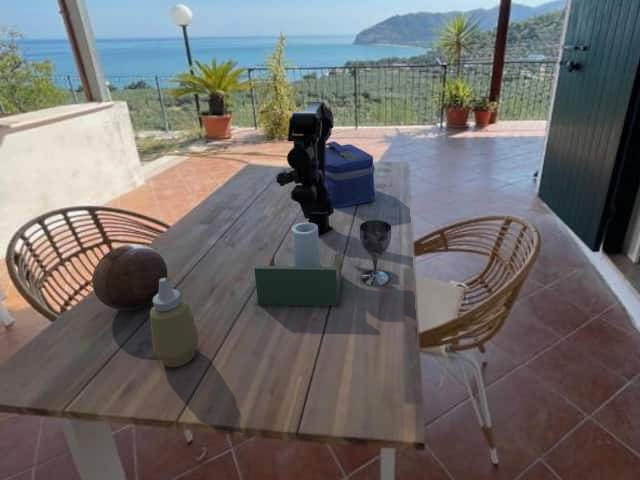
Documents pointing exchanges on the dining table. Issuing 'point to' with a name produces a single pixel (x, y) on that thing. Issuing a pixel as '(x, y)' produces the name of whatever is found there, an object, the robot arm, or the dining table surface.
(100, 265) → the wooden sphere
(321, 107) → the robot arm
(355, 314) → the dining table surface
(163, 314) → the squeeze bottle
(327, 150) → the lunch bag
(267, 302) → the cubby cabinet
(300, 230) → the storage jar
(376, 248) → the wine glass
